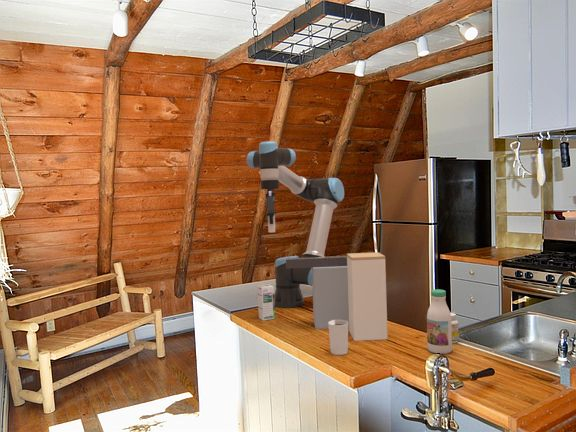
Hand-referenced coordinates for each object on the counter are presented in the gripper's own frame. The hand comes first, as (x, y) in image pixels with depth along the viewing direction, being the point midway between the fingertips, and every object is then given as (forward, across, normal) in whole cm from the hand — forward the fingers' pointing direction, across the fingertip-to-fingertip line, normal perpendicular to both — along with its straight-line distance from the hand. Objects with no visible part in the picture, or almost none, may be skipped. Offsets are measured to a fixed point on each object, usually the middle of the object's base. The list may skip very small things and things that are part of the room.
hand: (272, 230), depth 188 cm
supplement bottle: (+39, +34, +61) cm, 80 cm away
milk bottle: (+39, +42, +54) cm, 79 cm away
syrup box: (+39, -6, -4) cm, 39 cm away
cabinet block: (+38, +23, +34) cm, 56 cm away
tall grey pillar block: (+38, +8, +22) cm, 45 cm away
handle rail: (+14, +8, +18) cm, 25 cm away
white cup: (+38, +39, +21) cm, 59 cm away
